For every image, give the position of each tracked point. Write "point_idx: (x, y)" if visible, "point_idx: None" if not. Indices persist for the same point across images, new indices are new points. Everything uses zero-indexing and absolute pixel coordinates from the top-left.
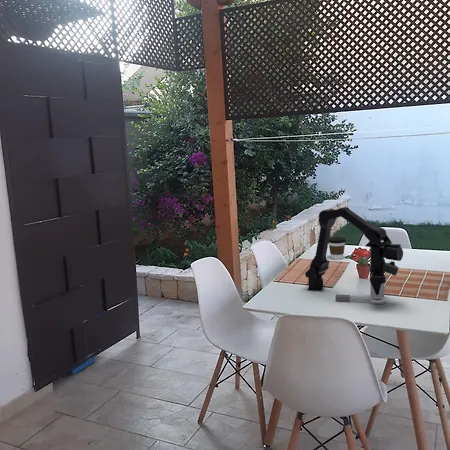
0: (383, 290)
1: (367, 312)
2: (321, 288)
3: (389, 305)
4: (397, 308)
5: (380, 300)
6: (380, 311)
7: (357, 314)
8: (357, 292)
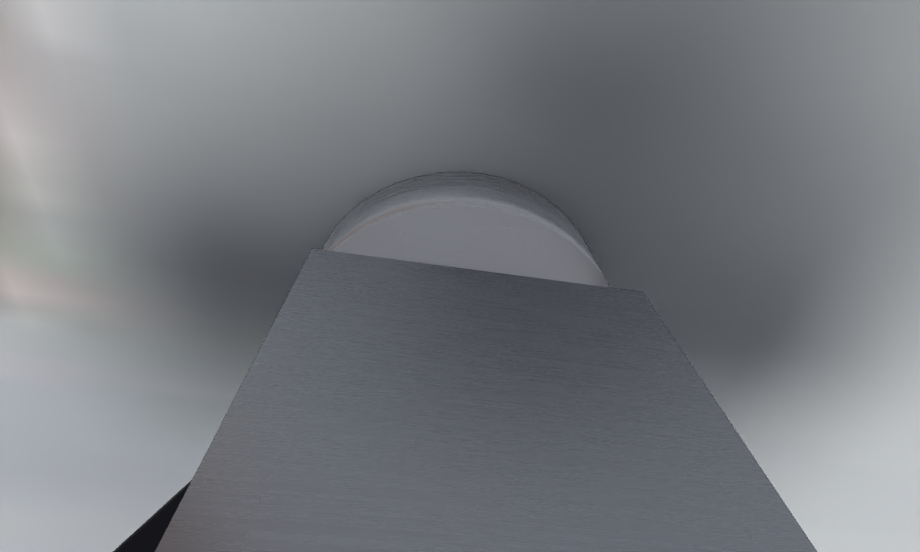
0: (720, 449)
1: (847, 467)
2: None
3: (664, 136)
4: (886, 5)
5: None
6: (888, 329)
7: (859, 547)
8: (15, 487)
